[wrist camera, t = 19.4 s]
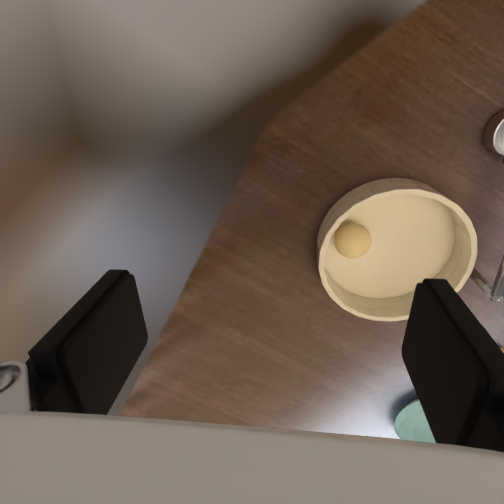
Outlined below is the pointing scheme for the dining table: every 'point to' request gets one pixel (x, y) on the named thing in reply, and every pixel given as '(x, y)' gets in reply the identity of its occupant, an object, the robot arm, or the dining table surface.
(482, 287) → the ladle
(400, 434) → the saucer
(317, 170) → the dining table surface
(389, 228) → the bowl
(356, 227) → the tan ball
